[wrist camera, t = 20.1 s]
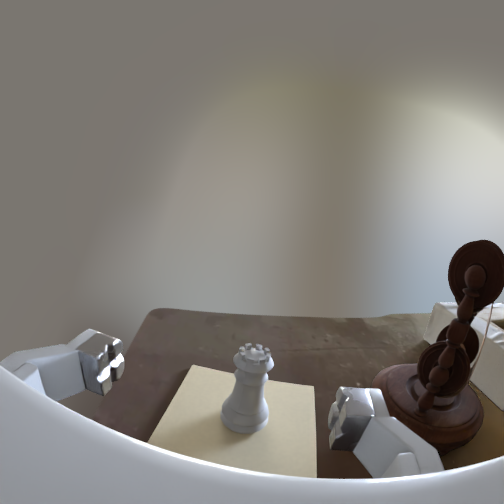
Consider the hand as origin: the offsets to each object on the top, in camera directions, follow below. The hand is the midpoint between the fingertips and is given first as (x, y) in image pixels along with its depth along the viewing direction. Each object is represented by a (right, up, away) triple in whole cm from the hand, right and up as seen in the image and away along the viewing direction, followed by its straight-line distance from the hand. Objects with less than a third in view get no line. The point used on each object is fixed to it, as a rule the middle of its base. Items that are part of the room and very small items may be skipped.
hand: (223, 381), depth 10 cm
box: (+47, -15, +26) cm, 56 cm away
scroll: (+20, -14, +16) cm, 29 cm away
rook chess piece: (0, -11, +15) cm, 18 cm away
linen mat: (0, -11, +15) cm, 19 cm away
